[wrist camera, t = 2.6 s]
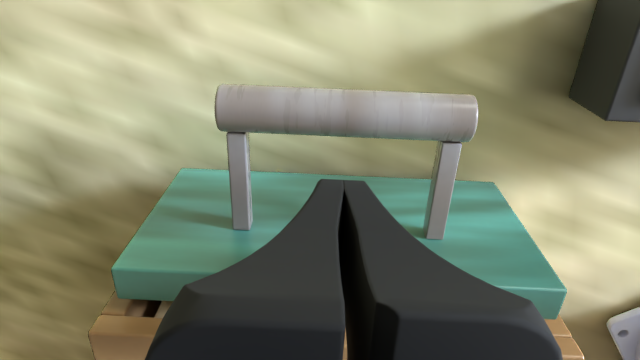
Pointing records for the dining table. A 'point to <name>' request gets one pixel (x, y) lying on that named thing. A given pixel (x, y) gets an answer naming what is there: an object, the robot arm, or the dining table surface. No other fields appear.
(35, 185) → the dining table surface
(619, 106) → the remote
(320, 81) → the dining table surface
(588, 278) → the dining table surface
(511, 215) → the drawer
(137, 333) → the cabinet
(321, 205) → the robot arm
